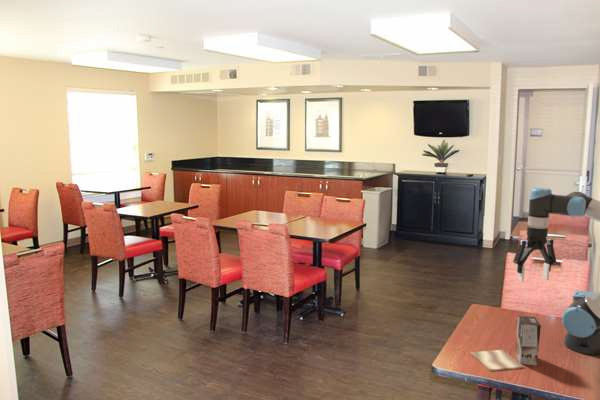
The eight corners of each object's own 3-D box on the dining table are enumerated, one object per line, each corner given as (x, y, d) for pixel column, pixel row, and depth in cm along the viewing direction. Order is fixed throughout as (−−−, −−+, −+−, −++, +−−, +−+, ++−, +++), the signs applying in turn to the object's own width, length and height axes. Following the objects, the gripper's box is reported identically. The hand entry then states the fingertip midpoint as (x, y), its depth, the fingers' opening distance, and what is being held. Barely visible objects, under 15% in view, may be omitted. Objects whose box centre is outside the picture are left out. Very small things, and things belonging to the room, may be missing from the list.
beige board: (502, 351, 202) (502, 349, 202) (523, 367, 189) (523, 366, 189) (470, 353, 200) (470, 352, 200) (489, 370, 186) (489, 369, 186)
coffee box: (537, 365, 191) (541, 325, 188) (519, 364, 192) (523, 324, 189) (531, 355, 199) (535, 316, 197) (514, 353, 201) (517, 314, 198)
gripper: (556, 223, 207) (551, 275, 210) (506, 225, 202) (502, 278, 206) (569, 227, 199) (564, 281, 203) (517, 229, 195) (513, 284, 199)
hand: (533, 279), depth 204 cm, fingers open, 10 cm apart
